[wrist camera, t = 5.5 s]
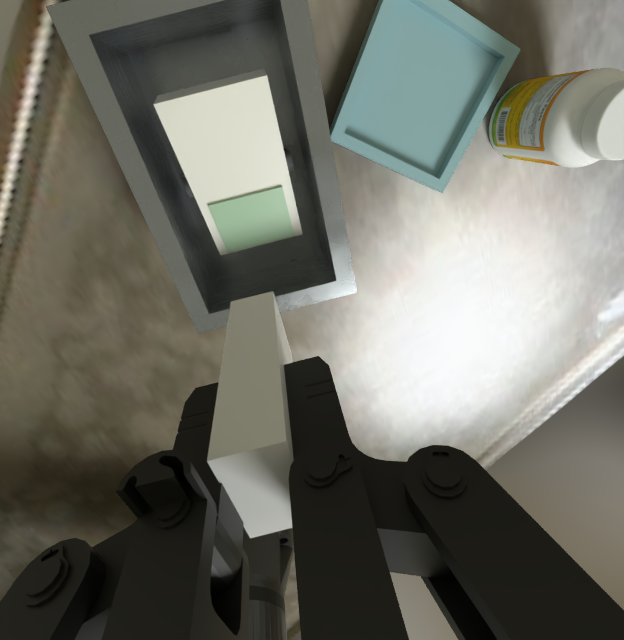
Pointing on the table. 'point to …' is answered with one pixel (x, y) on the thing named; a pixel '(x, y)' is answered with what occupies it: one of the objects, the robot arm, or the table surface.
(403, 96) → the tray
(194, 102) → the block
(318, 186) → the guard box
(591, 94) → the supplement bottle
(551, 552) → the robot arm
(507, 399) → the table surface
